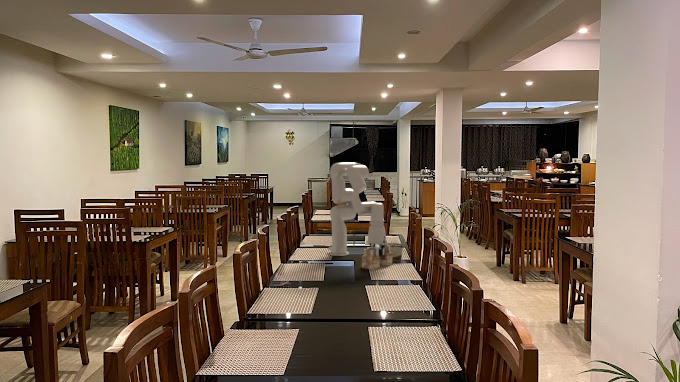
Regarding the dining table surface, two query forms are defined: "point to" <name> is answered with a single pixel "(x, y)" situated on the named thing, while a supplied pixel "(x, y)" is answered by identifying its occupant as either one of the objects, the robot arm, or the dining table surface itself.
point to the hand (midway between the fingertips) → (377, 254)
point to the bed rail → (376, 250)
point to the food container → (396, 251)
